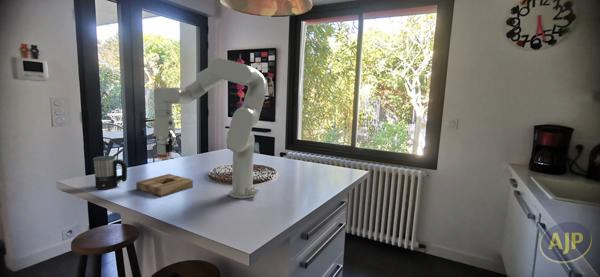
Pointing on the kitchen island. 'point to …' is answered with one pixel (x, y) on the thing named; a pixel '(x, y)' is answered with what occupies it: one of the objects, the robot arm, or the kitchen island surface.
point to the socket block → (164, 185)
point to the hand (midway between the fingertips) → (164, 150)
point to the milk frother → (108, 172)
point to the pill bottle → (162, 148)
